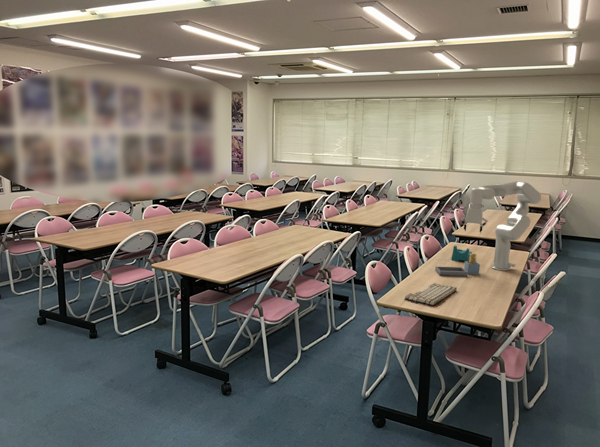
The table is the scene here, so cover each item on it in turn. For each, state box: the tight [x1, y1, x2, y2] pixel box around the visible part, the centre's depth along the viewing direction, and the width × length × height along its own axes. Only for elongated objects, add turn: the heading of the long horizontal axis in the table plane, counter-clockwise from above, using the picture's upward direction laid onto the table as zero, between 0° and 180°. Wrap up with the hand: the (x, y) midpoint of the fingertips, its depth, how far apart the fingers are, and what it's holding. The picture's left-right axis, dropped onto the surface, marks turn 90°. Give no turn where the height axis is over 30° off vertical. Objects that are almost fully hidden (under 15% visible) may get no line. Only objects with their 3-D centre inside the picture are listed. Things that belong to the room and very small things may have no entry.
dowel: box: [468, 252, 477, 264], centre depth 318 cm, size 4×4×13 cm
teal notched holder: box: [450, 245, 473, 262], centre depth 356 cm, size 18×11×10 cm, turn 149°
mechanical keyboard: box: [403, 282, 458, 308], centre depth 269 cm, size 38×19×3 cm, turn 143°
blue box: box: [463, 260, 481, 275], centre depth 318 cm, size 8×8×7 cm
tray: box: [434, 265, 468, 278], centre depth 315 cm, size 18×12×3 cm, turn 88°
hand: (472, 231), depth 318 cm, fingers open, 9 cm apart
